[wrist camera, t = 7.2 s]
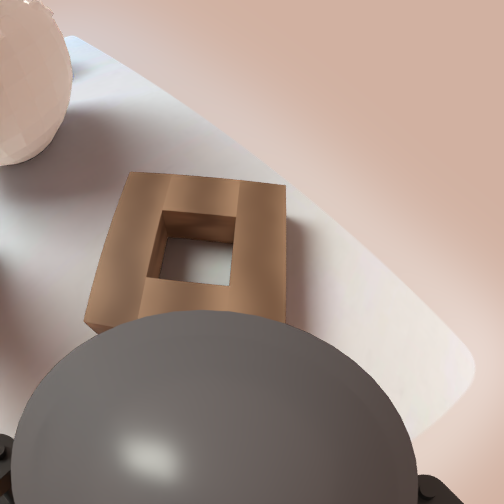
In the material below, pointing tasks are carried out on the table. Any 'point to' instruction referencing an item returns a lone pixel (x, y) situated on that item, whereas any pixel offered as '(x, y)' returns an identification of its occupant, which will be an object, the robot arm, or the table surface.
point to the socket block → (198, 228)
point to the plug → (210, 420)
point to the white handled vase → (31, 79)
